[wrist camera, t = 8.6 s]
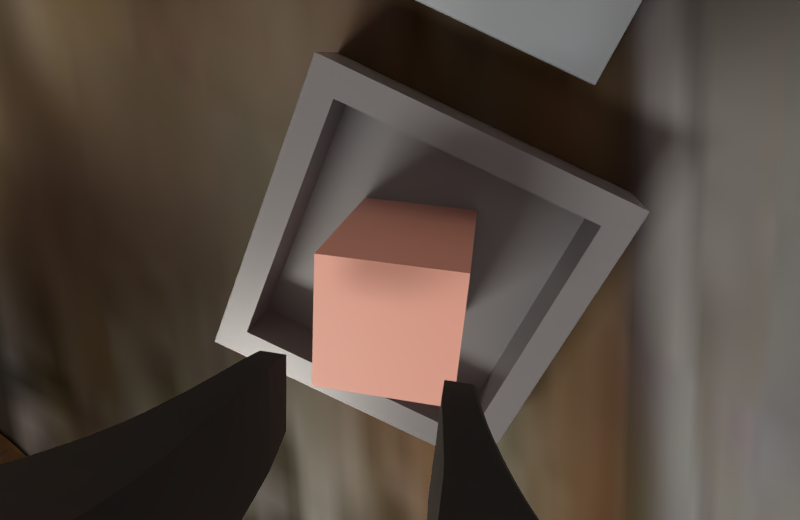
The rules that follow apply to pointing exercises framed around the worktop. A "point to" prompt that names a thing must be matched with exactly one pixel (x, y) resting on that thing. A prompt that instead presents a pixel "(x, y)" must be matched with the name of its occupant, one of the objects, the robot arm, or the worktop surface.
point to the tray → (440, 186)
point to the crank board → (550, 28)
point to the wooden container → (9, 451)
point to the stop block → (392, 300)
